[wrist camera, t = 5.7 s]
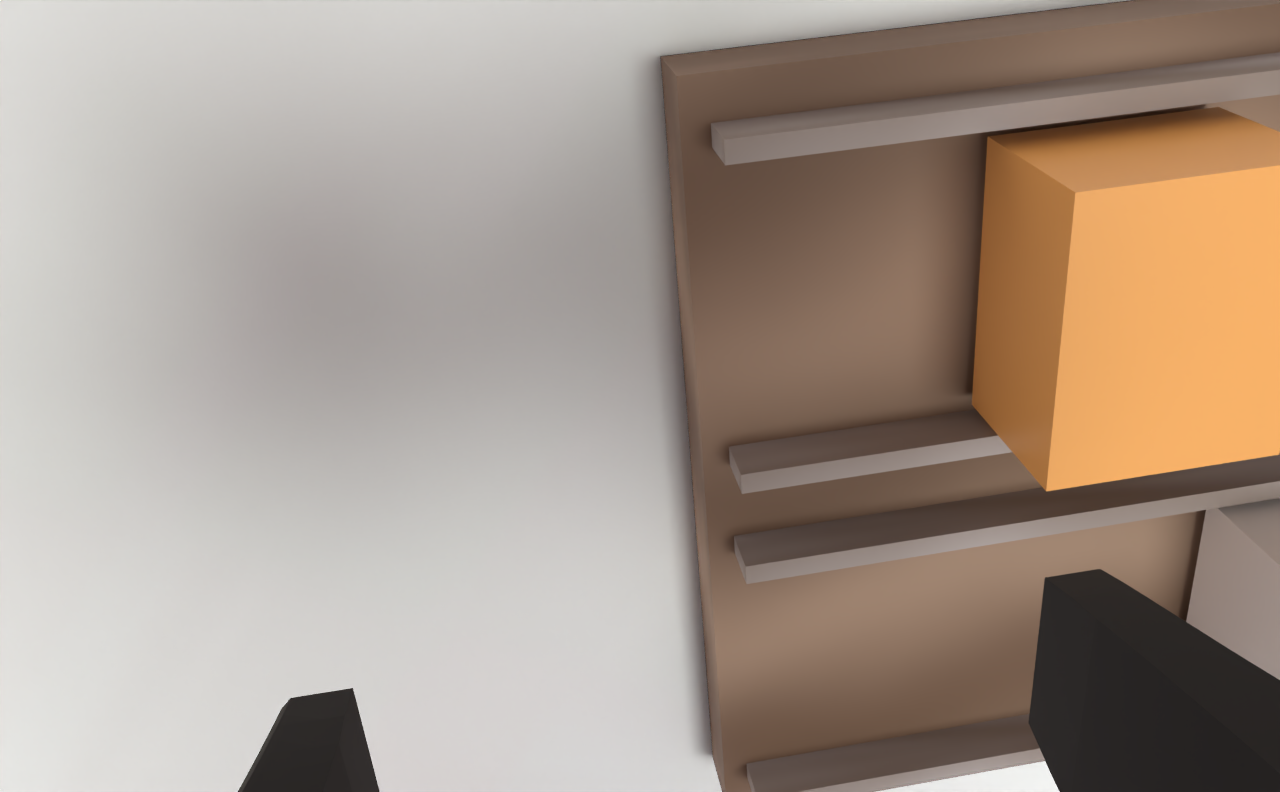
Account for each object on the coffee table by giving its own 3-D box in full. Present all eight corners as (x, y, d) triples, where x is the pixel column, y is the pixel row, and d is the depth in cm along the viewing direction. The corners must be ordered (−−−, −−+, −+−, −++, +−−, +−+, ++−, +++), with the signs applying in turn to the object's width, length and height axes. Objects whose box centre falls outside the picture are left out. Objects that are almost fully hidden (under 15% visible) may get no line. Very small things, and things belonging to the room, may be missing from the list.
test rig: (1541, 612, 29) (1738, 759, 24) (712, 757, 27) (765, 945, 22) (1789, -78, 21) (2141, -44, 17) (661, 56, 19) (723, 134, 15)
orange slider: (1177, 374, 22) (1279, 454, 19) (972, 404, 21) (1046, 491, 19) (1218, 106, 19) (1340, 156, 17) (987, 136, 19) (1075, 192, 16)
